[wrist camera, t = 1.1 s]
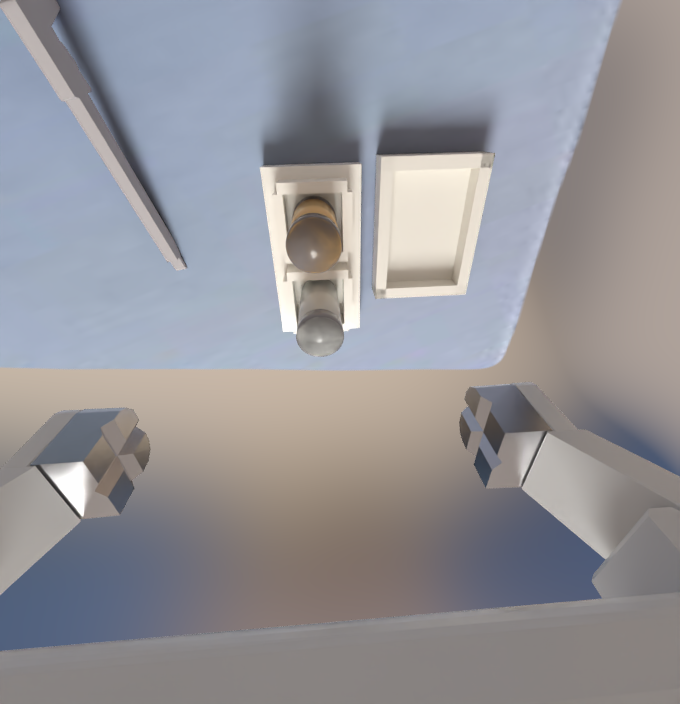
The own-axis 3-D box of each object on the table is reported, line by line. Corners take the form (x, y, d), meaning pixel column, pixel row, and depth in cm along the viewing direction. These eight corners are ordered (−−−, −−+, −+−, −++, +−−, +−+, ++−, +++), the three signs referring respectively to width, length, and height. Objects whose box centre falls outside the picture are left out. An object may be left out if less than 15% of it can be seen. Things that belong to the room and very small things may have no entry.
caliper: (22, -37, 20) (-77, -94, 15) (38, -42, 20) (-56, -101, 15) (178, 269, 32) (151, 296, 27) (188, 266, 32) (164, 293, 27)
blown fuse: (290, 196, 27) (282, 218, 20) (335, 194, 27) (341, 215, 20) (295, 241, 29) (288, 274, 22) (336, 240, 29) (342, 272, 22)
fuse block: (263, 165, 27) (240, 180, 19) (358, 162, 27) (377, 175, 19) (284, 322, 36) (275, 380, 27) (357, 318, 36) (369, 374, 28)
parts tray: (376, 154, 27) (381, 156, 25) (481, 151, 28) (495, 153, 26) (371, 288, 34) (375, 298, 32) (456, 284, 34) (465, 294, 32)
